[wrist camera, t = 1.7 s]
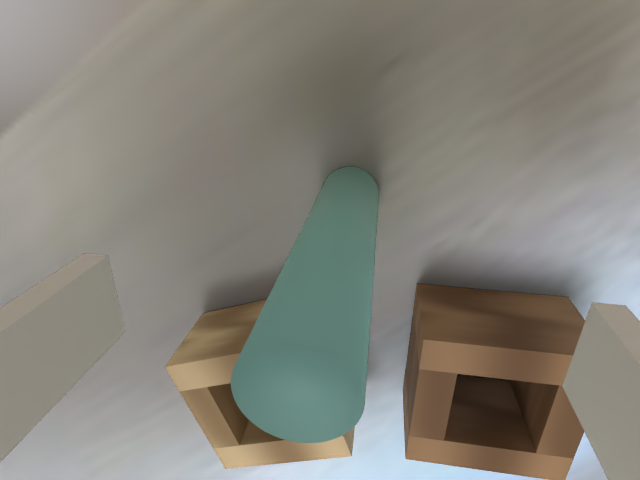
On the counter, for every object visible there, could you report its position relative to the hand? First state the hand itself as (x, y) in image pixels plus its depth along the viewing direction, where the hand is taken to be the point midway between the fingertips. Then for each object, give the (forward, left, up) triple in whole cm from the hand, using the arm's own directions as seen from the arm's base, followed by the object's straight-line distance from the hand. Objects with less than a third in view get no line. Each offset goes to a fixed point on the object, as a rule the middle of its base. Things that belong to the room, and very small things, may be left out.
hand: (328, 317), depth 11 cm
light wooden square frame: (-4, -11, -11) cm, 16 cm away
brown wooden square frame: (+8, -9, -11) cm, 16 cm away
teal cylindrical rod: (0, 0, -11) cm, 11 cm away
